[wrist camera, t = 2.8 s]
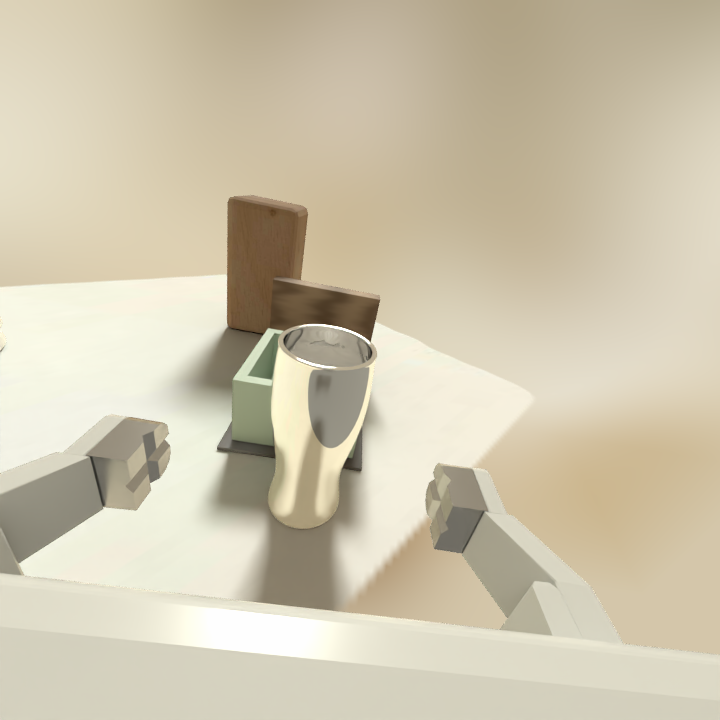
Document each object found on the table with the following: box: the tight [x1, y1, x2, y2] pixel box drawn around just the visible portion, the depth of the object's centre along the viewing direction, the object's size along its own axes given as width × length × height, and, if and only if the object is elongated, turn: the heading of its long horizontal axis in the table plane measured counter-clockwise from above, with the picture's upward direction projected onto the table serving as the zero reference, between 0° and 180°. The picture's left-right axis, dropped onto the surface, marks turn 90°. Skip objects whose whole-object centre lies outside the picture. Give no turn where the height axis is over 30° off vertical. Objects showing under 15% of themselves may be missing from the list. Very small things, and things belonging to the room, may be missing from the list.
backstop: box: [217, 276, 380, 471], centre depth 38 cm, size 14×20×12 cm
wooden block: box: [227, 195, 308, 334], centre depth 54 cm, size 10×10×20 cm
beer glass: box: [268, 324, 377, 529], centre depth 25 cm, size 7×7×15 cm
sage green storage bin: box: [232, 328, 358, 458], centre depth 36 cm, size 12×12×7 cm
